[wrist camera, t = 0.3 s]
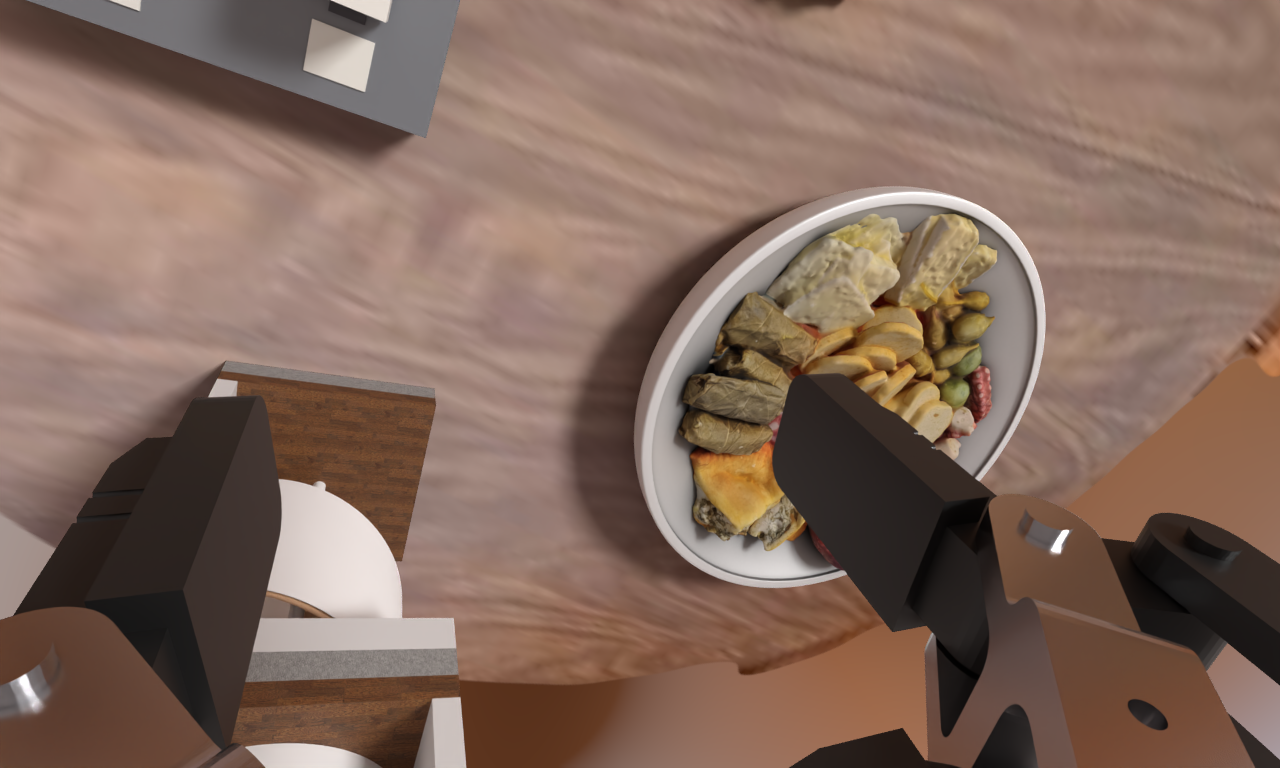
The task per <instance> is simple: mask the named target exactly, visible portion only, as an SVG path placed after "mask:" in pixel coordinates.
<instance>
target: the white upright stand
mask: <svg viewBox="0 0 1280 768" xmlns="http://www.w3.org/2000/svg"><path fill="white" fill-rule="evenodd" d="M252 395H260V396H262V397H263V399H264V401H265V404H266V408H267V413H268V418H269V424H270V430H271V436H272V442H273V448H274V454H275V461H276V467H277V473H278V479H279V485H280V491H281V502H282V520H281V531H280V537H279V542H278V546H277V550H276V554H275V559H274V563H273V567H272V571H271V575H270V580H269V584H268V588H267V592H266V597H265V601H264V605H263V609H262V614H261V618H260V622H259V626H258V630H257V635H256V639H255V643H254V647H253V652H252V656H251V660H250V664H249V669H248V673H247V677H246V681H245V685H244V690H243V694H242V698H241V702H240V707H239V711H238V715H237V719H236V724H235V728H234V732H233V736H232V740H231V744H232V743H238V744H241V745H242V746H244V747H245V748H247V749H248V750H249V751H250V752H251V753H252V754H253V755H254V756H255V757H256V758H257V759H258V760H259V761H260V762H261V763H262V764H263V765H264V767H265V768H466V759H465V747H464V735H463V724H462V713H461V700H460V688H459V676H458V664H457V652H456V640H455V628H454V618H402V588H401V581H400V576H399V572H398V568H397V565H396V562H395V561H402V558H403V553H404V549H405V544H406V540H407V535H408V530H409V526H410V521H411V517H412V512H413V508H414V503H415V499H416V494H417V489H418V485H419V480H420V476H421V471H422V467H423V462H424V458H425V453H426V448H427V444H428V439H429V435H430V430H431V426H432V421H433V416H434V412H435V407H436V402H435V390H434V389H433V388H426V387H418V386H411V385H403V384H396V383H388V382H381V381H374V380H366V379H359V378H351V377H344V376H336V375H329V374H321V373H314V372H306V371H299V370H292V369H284V368H277V367H269V366H262V365H254V364H247V363H239V362H232V361H226V362H225V364H224V366H223V368H222V370H221V372H220V374H219V376H218V378H217V380H216V382H215V384H214V386H213V388H212V390H211V392H210V394H209V396H208V397H227V396H252Z"/></svg>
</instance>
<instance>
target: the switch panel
mask: <svg viewBox="0 0 1280 768" xmlns="http://www.w3.org/2000/svg"><path fill="white" fill-rule="evenodd" d="M27 1H30V2H33V3H36V4H39V5H42V6H45V7H47V8H50V9H53V10H56V11H59V12H62V13H65V14H68V15H71V16H74V17H76V18H79V19H82V20H85V21H88V22H91V23H94V24H97V25H100V26H103V27H105V28H108V29H111V30H114V31H117V32H120V33H123V34H126V35H129V36H131V37H134V38H137V39H140V40H143V41H146V42H149V43H152V44H155V45H158V46H160V47H163V48H166V49H169V50H172V51H175V52H178V53H181V54H184V55H187V56H189V57H192V58H195V59H198V60H201V61H204V62H207V63H210V64H213V65H215V66H218V67H221V68H224V69H227V70H230V71H233V72H236V73H239V74H242V75H244V76H247V77H250V78H253V79H256V80H259V81H262V82H265V83H268V84H271V85H273V86H276V87H279V88H282V89H285V90H288V91H291V92H294V93H297V94H299V95H302V96H305V97H308V98H311V99H314V100H317V101H320V102H323V103H326V104H328V105H331V106H334V107H337V108H340V109H343V110H346V111H349V112H352V113H355V114H357V115H360V116H363V117H366V118H369V119H372V120H375V121H378V122H381V123H383V124H386V125H389V126H392V127H395V128H398V129H401V130H404V131H407V132H410V133H412V134H415V135H418V136H421V137H424V138H426V136H427V132H428V128H429V124H430V120H431V116H432V112H433V107H434V103H435V99H436V95H437V91H438V87H439V83H440V79H441V75H442V71H443V67H444V63H445V59H446V55H447V51H448V47H449V43H450V39H451V35H452V31H453V27H454V23H455V19H456V15H457V11H458V7H459V3H460V0H392V5H391V9H390V14H389V19H388V22H386V23H385V22H383V21H380V20H378V19H375V18H373V17H371V16H368V15H366V14H363V13H361V12H358V11H356V10H353V9H351V8H349V7H346V6H344V5H341V4H339V3H336V2H334V1H331V0H27Z"/></svg>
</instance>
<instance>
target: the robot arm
mask: <svg viewBox="0 0 1280 768" xmlns="http://www.w3.org/2000/svg"><path fill="white" fill-rule="evenodd" d="M772 466H773V473H774V476H775V479H776V482H777V484H778V486H779V487H780V489H781V490H782V492H783V493H784V494H785V495H786V497H787V498H788V499H789V500H790V502H791V503H792V504H793V506H794V507H795V508H796V509H797V511H798V512H799V513H800V515H801V516H802V517H803V518H804V520H805V521H806V522H807V523H808V525H809V526H810V527H811V529H812V530H813V531H814V532H815V534H816V535H817V536H818V538H819V539H820V540H821V541H822V543H823V544H824V545H825V547H826V548H827V549H828V550H829V552H830V553H831V554H832V555H833V557H834V558H835V559H836V561H837V562H838V563H839V564H840V566H841V567H842V568H843V570H844V571H845V572H846V573H847V575H848V576H849V577H850V579H851V580H852V581H853V582H854V584H855V585H856V586H857V587H858V589H859V590H860V591H861V593H862V594H863V595H864V596H865V598H866V599H867V600H868V602H869V603H870V604H871V605H872V607H873V608H874V609H875V611H876V612H877V613H878V614H879V616H880V617H881V618H882V619H883V621H884V622H885V623H886V625H887V626H888V627H889V628H890V630H891V631H892V632H895V631H901V630H906V629H912V628H916V627H922V626H927V627H928V628H929V629H930V630H931V631H932V633H931V635H930V638H929V640H928V642H927V645H926V647H925V680H926V707H927V737H928V761H927V760H924V758H923V757H922V756H921V754H920V753H919V751H918V750H917V748H916V747H915V745H914V744H913V742H912V741H911V740H910V738H909V737H908V735H907V734H906V732H905V731H904V729H903V728H900V729H897V730H893V731H888V732H884V733H880V734H876V735H872V736H868V737H864V738H860V739H856V740H852V741H848V742H844V743H839V744H836V745H832V746H828V747H824V748H819V749H818V750H816V751H815V752H813V753H812V754H810V755H808V756H807V757H805V758H804V759H802V760H801V761H799V762H797V763H796V764H794V765H793V766H791V767H790V768H1280V760H1279V759H1278V758H1277V757H1276V756H1275V755H1274V754H1273V753H1272V752H1270V751H1269V750H1268V749H1267V748H1266V747H1265V746H1264V745H1263V744H1262V743H1261V742H1259V741H1258V740H1257V739H1256V738H1255V737H1254V736H1253V735H1252V734H1251V733H1250V732H1248V731H1247V730H1246V729H1245V728H1244V727H1243V726H1242V725H1241V724H1240V723H1238V722H1237V721H1236V720H1235V719H1234V718H1233V717H1232V716H1230V715H1229V714H1228V713H1227V711H1226V709H1225V707H1224V705H1223V703H1222V701H1221V699H1220V697H1219V695H1218V693H1217V691H1216V690H1215V688H1214V686H1213V683H1212V681H1211V679H1210V677H1209V676H1208V673H1207V670H1208V669H1209V667H1210V666H1211V665H1212V663H1213V662H1214V661H1215V659H1216V658H1217V656H1218V655H1219V654H1220V652H1221V651H1222V650H1223V648H1224V647H1225V646H1226V644H1227V643H1228V644H1230V645H1231V646H1232V647H1233V648H1234V649H1236V650H1237V651H1238V652H1239V653H1241V654H1242V655H1243V656H1244V657H1246V658H1247V659H1248V660H1249V661H1251V662H1252V663H1253V664H1254V665H1256V666H1257V667H1258V668H1259V669H1260V670H1262V671H1263V672H1264V673H1265V674H1266V675H1268V676H1269V677H1270V678H1271V679H1273V680H1274V681H1275V682H1276V683H1278V684H1279V685H1280V564H1279V563H1277V562H1276V561H1274V560H1273V559H1271V558H1270V557H1268V556H1267V555H1265V554H1264V553H1262V552H1261V551H1259V550H1257V549H1256V548H1255V547H1253V546H1252V545H1250V544H1249V543H1247V542H1246V541H1244V540H1242V539H1241V538H1239V537H1237V536H1236V535H1234V534H1232V533H1230V532H1228V531H1226V530H1224V529H1222V528H1220V527H1218V526H1215V525H1213V524H1210V523H1208V522H1205V521H1202V520H1199V519H1196V518H1193V517H1190V516H1186V515H1181V514H1174V513H1159V514H1155V515H1153V516H1151V517H1150V518H1149V520H1148V521H1147V523H1146V525H1145V526H1144V528H1143V530H1142V531H1141V533H1140V535H1139V536H1138V538H1137V540H1136V541H1135V542H1127V541H1120V540H1111V539H1103V538H1100V536H1099V535H1098V534H1097V532H1096V531H1095V530H1094V529H1093V528H1092V527H1091V526H1090V525H1088V524H1087V523H1086V522H1085V521H1083V520H1082V519H1081V518H1079V517H1078V516H1076V515H1075V514H1073V513H1071V512H1070V511H1068V510H1066V509H1064V508H1062V507H1060V506H1058V505H1056V504H1053V503H1051V502H1048V501H1046V500H1042V499H1039V498H1036V497H1032V496H1027V495H1021V494H1003V495H1000V496H996V495H995V494H994V493H992V492H991V491H990V490H989V489H988V488H986V487H985V486H984V485H983V484H982V483H980V482H979V481H978V480H977V479H975V478H974V477H973V476H972V475H971V474H969V473H968V472H967V471H966V470H965V469H963V468H962V467H961V466H960V465H958V464H957V463H956V462H955V461H954V460H952V459H951V458H950V457H949V456H948V455H946V454H945V453H944V452H943V451H942V450H940V449H939V450H936V446H935V445H934V444H933V443H932V442H931V441H929V440H928V439H927V438H926V437H925V436H923V435H918V431H917V430H916V429H915V428H914V427H912V426H911V425H910V424H909V423H908V422H906V421H905V420H904V419H903V418H901V417H900V416H899V415H898V414H896V413H894V412H892V411H891V410H889V409H887V408H885V407H883V406H881V405H880V404H879V403H877V402H876V401H875V400H874V399H873V398H871V397H870V396H869V395H868V394H867V393H865V392H864V391H863V390H862V389H861V388H859V387H858V386H857V385H856V384H855V383H853V382H852V381H851V380H850V379H849V378H847V377H846V376H845V375H843V374H841V373H825V374H801V375H798V376H796V377H795V378H794V379H793V380H792V382H791V384H790V386H789V389H788V393H787V397H786V401H785V405H784V409H783V413H782V417H781V421H780V425H779V429H778V433H777V437H776V441H775V445H774V449H773V455H772ZM92 493H93V498H89V499H88V500H87V502H86V503H85V505H84V506H83V508H82V510H81V511H80V513H79V514H78V516H77V523H74V524H72V525H71V527H70V528H69V530H68V531H67V533H66V534H65V536H64V537H63V539H62V541H61V542H60V544H59V545H58V547H57V548H56V550H55V551H54V553H53V555H52V556H51V558H50V559H49V561H48V562H47V564H46V566H45V567H44V569H43V570H42V572H41V573H40V575H39V576H38V578H37V579H36V581H35V582H34V584H33V586H32V587H31V589H30V590H29V592H28V593H27V595H26V597H25V598H24V600H23V601H22V603H21V604H20V606H19V607H18V609H17V610H16V612H15V614H14V615H13V616H11V617H8V618H5V619H2V620H0V768H265V767H264V765H263V764H262V763H261V762H260V761H259V760H258V759H257V758H256V757H255V756H254V755H253V754H252V753H251V752H250V751H249V750H248V749H247V748H245V747H244V746H242V745H241V744H238V743H232V744H231V740H232V736H233V732H234V728H235V724H236V719H237V715H238V711H239V707H240V702H241V698H242V694H243V690H244V685H245V681H246V677H247V673H248V669H249V664H250V660H251V656H252V652H253V647H254V643H255V639H256V635H257V630H258V626H259V622H260V618H261V614H262V609H263V605H264V601H265V597H266V592H267V588H268V584H269V580H270V575H271V571H272V567H273V563H274V559H275V554H276V550H277V546H278V542H279V537H280V531H281V520H282V502H281V491H280V485H279V479H278V473H277V467H276V461H275V454H274V448H273V442H272V436H271V430H270V424H269V418H268V413H267V408H266V404H265V401H264V399H263V397H262V396H260V395H252V396H227V397H202V398H195V399H194V400H193V401H192V402H191V404H190V406H189V408H188V410H187V411H186V413H185V415H184V417H183V419H182V421H181V422H180V424H179V426H178V428H177V430H176V432H175V434H174V435H173V437H162V438H146V439H145V440H144V441H142V442H141V443H139V444H138V445H137V446H135V447H134V448H132V449H131V450H130V451H128V452H127V453H125V454H124V455H123V456H121V457H120V458H118V459H117V460H115V461H114V462H113V463H111V464H110V466H109V468H108V469H107V471H106V472H105V474H104V475H103V477H102V478H101V480H100V482H99V483H98V485H97V486H96V488H95V489H94V491H93V492H92Z"/></svg>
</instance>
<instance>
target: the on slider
mask: <svg viewBox="0 0 1280 768" xmlns="http://www.w3.org/2000/svg"><path fill="white" fill-rule="evenodd" d="M331 1H334V2H336V3H339V4H341V5H344V6H346V7H349V8H351V9H353V10H356V11H358V12H361V13H363V14H366V15H368V16H371V17H373V18H375V19H378V20H380V21H383V22H385V23H386V22H388V19H389V14H390V9H391V5H392V0H331Z"/></svg>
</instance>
